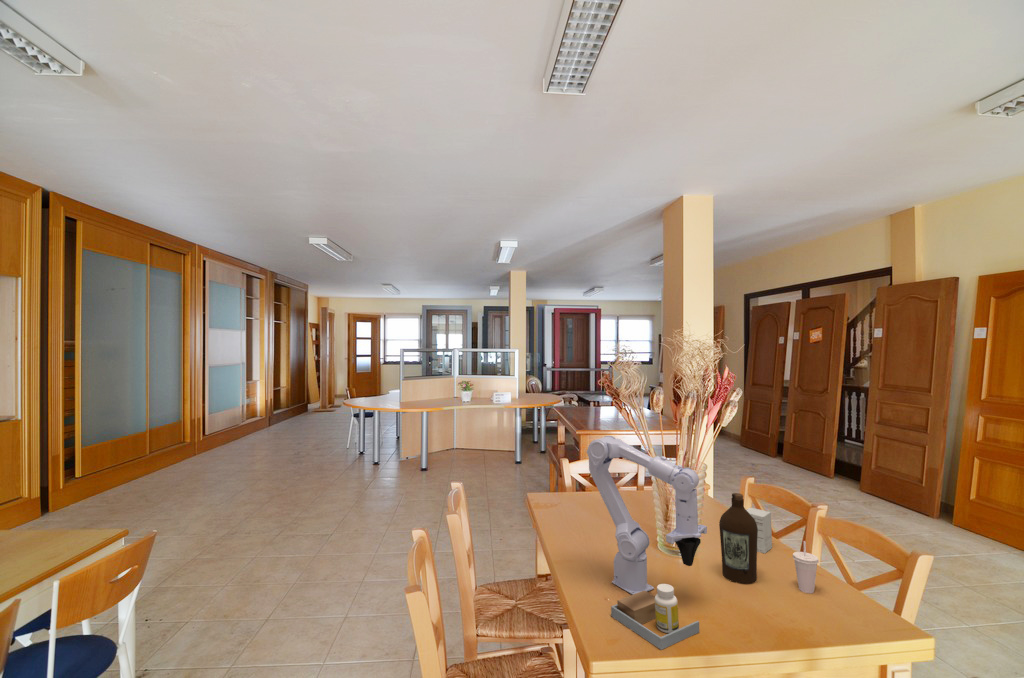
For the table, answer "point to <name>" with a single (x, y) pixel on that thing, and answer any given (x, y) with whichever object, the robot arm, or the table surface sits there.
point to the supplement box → (762, 529)
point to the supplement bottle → (666, 609)
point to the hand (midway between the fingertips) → (687, 564)
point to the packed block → (638, 606)
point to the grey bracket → (651, 636)
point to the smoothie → (805, 570)
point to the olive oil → (738, 543)
